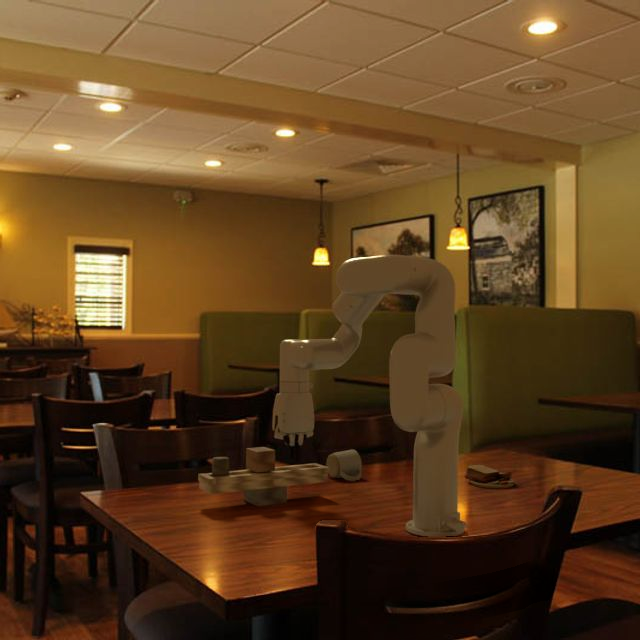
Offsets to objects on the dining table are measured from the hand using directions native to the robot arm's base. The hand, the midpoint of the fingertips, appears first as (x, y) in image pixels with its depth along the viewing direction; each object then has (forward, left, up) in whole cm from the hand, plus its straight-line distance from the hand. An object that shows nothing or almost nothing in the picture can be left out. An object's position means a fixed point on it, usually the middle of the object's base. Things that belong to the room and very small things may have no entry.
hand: (293, 460), depth 205 cm
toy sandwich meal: (-10, -57, -10) cm, 59 cm away
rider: (0, +9, -3) cm, 10 cm away
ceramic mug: (+16, -26, -10) cm, 32 cm away
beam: (0, +8, -10) cm, 12 cm away
